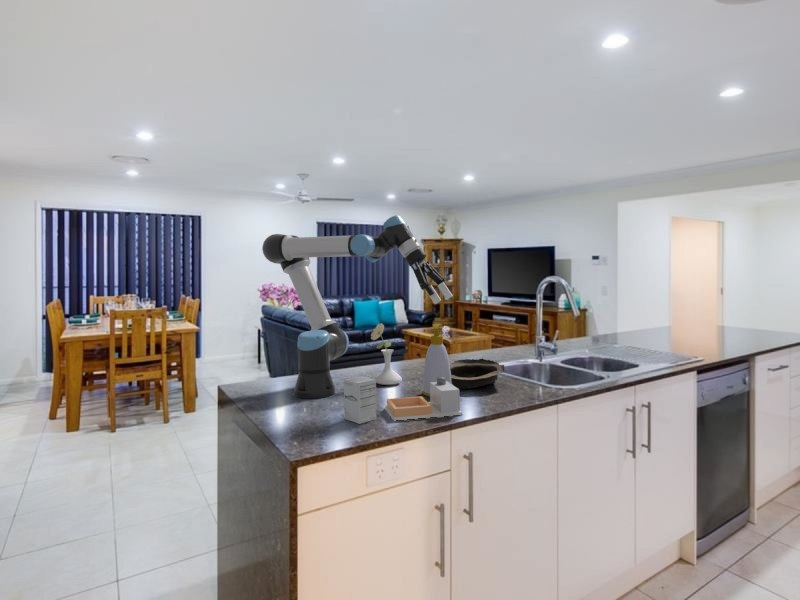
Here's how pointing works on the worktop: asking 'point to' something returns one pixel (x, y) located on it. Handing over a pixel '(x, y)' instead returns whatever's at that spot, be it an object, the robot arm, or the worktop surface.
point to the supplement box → (360, 399)
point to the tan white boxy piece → (427, 403)
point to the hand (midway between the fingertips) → (444, 300)
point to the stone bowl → (474, 373)
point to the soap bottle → (436, 361)
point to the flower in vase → (387, 373)
